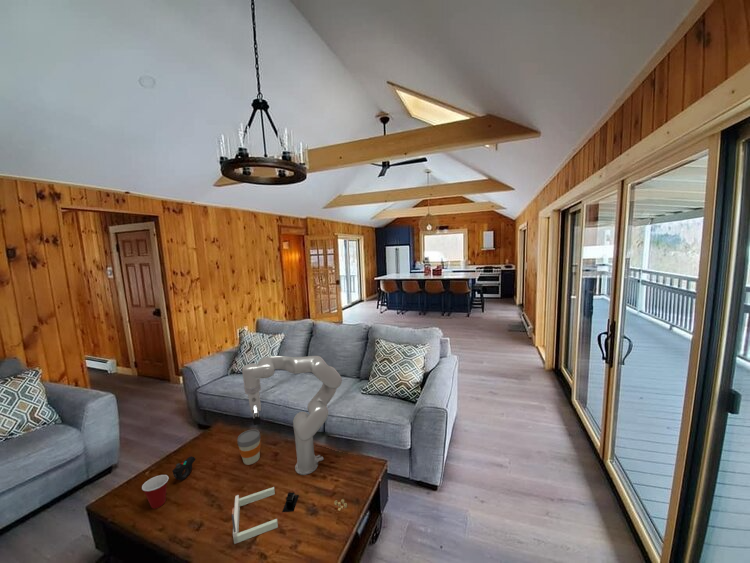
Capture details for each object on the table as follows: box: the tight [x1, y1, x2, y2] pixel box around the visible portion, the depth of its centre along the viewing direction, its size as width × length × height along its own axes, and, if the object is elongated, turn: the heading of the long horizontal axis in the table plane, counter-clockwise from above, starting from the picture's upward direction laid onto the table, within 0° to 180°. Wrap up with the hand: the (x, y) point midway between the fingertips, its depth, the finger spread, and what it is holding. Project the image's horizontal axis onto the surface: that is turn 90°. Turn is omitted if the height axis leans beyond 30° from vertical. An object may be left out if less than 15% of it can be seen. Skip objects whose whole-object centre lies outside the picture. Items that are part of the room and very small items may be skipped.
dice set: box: [334, 498, 348, 512], centre depth 143 cm, size 5×5×2 cm
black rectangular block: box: [281, 492, 300, 513], centre depth 146 cm, size 12×7×5 cm, turn 179°
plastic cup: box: [141, 474, 170, 509], centre depth 149 cm, size 11×11×12 cm
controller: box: [172, 456, 196, 481], centre depth 167 cm, size 4×12×10 cm, turn 165°
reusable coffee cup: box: [237, 428, 262, 466], centre depth 177 cm, size 13×13×15 cm
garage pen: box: [231, 486, 279, 545], centre depth 139 cm, size 18×21×13 cm
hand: (256, 419), depth 155 cm, fingers open, 9 cm apart
